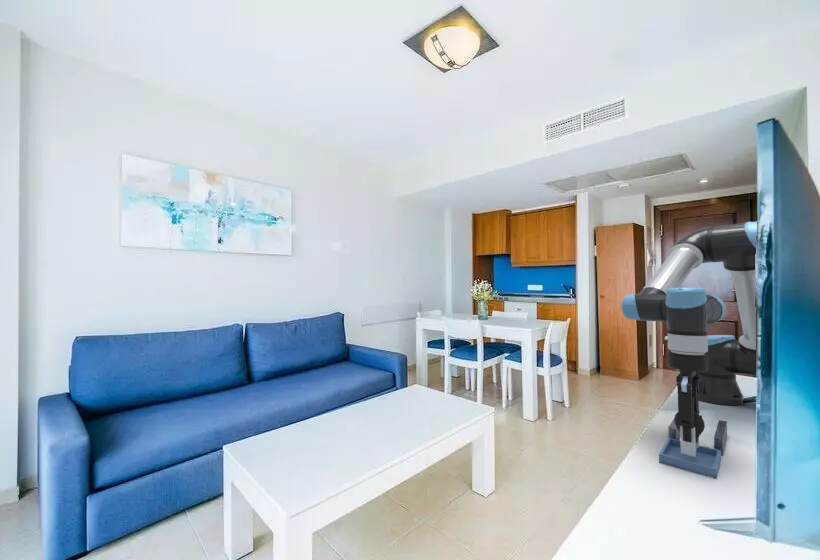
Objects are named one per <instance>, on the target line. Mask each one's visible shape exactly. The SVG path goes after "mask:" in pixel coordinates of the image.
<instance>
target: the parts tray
mask: <svg viewBox="0 0 820 560" xmlns="http://www.w3.org/2000/svg"><path fill="white" fill-rule="evenodd" d="M721 462H722V456H721V450H717V449H714V448H712V447H708V446H705V445H700V444H699V448H697V451H696V457H693V456H689V455H686V454H682V453H681V446H680V439H679V440H676V439H672V438H669V437H668V438H667V439H666V441H665V443H664V444H663V446H662V447H661V450H660V451H659V453H658V463H659V464H664V465H667V466H671V467H674V468H677V469H681V470H684V471H688V472H690V473H695V474H698V475H701V476H705V477H708V476H709V478H711V477H713V478H712V479H715V478H717V479H718V476H719V475H718V474H719V471H720V467H721Z"/></svg>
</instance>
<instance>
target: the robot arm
mask: <svg viewBox="0 0 820 560" xmlns="http://www.w3.org/2000/svg"><path fill="white" fill-rule="evenodd" d="M757 222H758V221H746V222H740V223H731V224H725V225H718V226H707V227H702V228H699V229H697V230H694V231H692V232H689V234H687V235H685V236H683V237H682V238H680V239H679V240H678V241H675V242H674V244H673V245H672V246H671V247H670V249H669V250H668V251H667V255H666V256H667V257H666V258H665V260H664V262H663V263H662V264H661V265H660V267H659V268H658V269H657V270H656V272H655V273H654V274H653V276H651V278H650V279H649V281H648V282H647V283H646V284H645V285H644V287H643V288H642V289H641V290H640V291H639V292H638V293H637V294H636V293H633V294H631V293H629V294H626V295H624V297H623V298H622V300H621V311H622V314H623V316H624V317H625V318H626V319H627V320H634V321H635V320H636V321H639V322H641V321H642V322H643V321H645V322H659V323H660V322H662V323H663V322H664V323H665V322H666V333H667V336H666V335H665V336H664V339H663V340H664V341H667V349H668V350H669V351H668V352H667V366H668V367H670V368H672V369H675V370H679V373H678V374H677V375H676V387H677V388H676V389H677V410H678V411H677V412H678V422H676V425H679V426H680V438H679V440H680V446H681V453H682V454H686V455H689V456H693V457H696V438H695V427H694V411H695V412H696V413H698V414H699V415H700V416H701V417H702V418H703V415H701V414H700V408H699V407H700V405H699V403H700V402H699V401H701V402H703V403H704V402H706V403H709V404H716V405H722V406H723V405H724V406H741V405H744V403H743V400H745V399H744V395H743V393H742V390H741V388H740V386H739V383H738V382H737V374H738V375H745V376H752V377H757V376H756V307H755V254H756V236H757ZM706 263H723V264H722V265H723V268H724V269H725V270H726V271H727V272H730V273H731V277H732V281H733V287H734V291H735V297H736V301H737V303H736V304H737V307H738V312H739V317H740V323H741V328H742V335H741V336H739V338H738V339H736V336H735V335H734V334H733V335H732V334H729V335H728V334H714V335H713V334H711V335H708V332H707V331H708V325H712V324H715V323H717V322H719V321H721V320H722V319H724V317H725V316H726V315H727V306H726V304H725V302H724V301H723V300H722V299H721V298H720V297H718V296H715V295H712V294H708V293H706V290H705V289H704V288H703V287H681V286H682V285H684V282H685V281H686V279H687V278H688V277H689V275H690V274H691V273H692V271H693V270H694V269H697V268H699V266H701V265H702V264H706ZM699 445H700V437H699V438H698V442H697V448H699Z"/></svg>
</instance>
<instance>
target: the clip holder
mask: <svg viewBox="0 0 820 560" xmlns="http://www.w3.org/2000/svg"><path fill="white" fill-rule="evenodd" d="M667 430H668V431H667V432H668V438H672V439H676V440H680V431H679V430H678V428H677V427H676V424H675V421H674V418H673V419H672V421H671V422H670V424H669V425H668V429H667ZM714 432H715V433H714V436H713V447H714V448H713V449H717V450H721V457H724V454H725V449H726V444H727V441H728V440H727V439H728V422H727V421H726V420H722V419H719V420H718V422H717V426H716V429H715V431H714Z"/></svg>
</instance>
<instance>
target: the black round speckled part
mask: <svg viewBox="0 0 820 560" xmlns="http://www.w3.org/2000/svg"><path fill="white" fill-rule="evenodd" d="M700 415H701V414H700V413H699V414H698V413H696V412H695V411H694V427H695V438H696V451H697V442H698V438H699V439H700V436H701V435H702V433H703V432H704V430H705V425H706V424H705V423H706V422H705V421H704V419H703V416H702V415H701V416H702V417H701V416H700ZM673 419H674V421H675V424H676V422H678V411H677V412H676V414H674V418H673ZM676 427H677V428H678V430H679V431H680V426H679V425H676Z"/></svg>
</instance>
